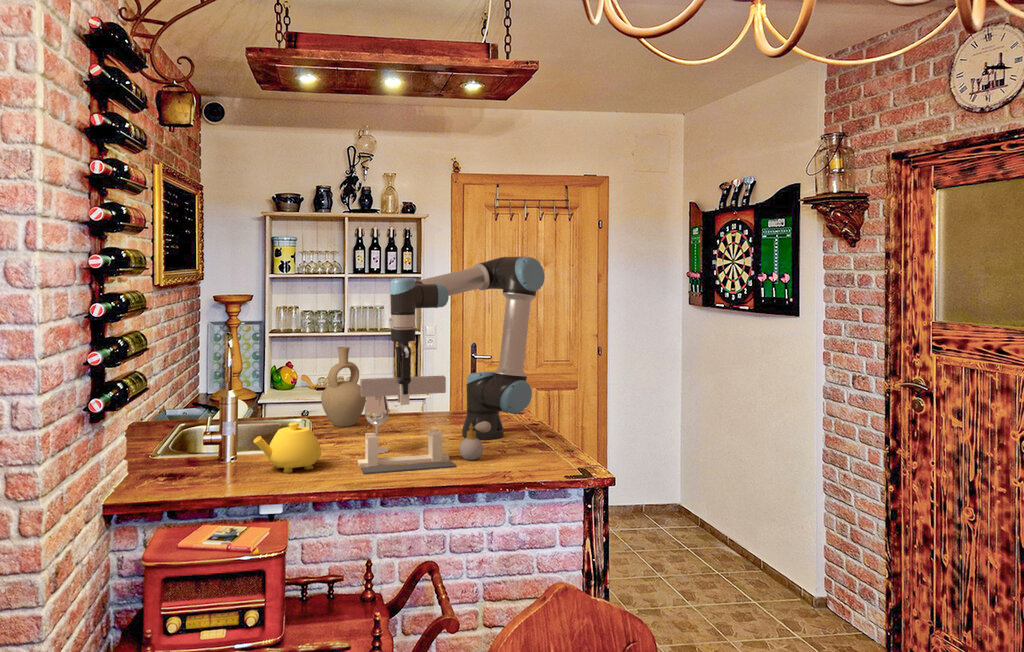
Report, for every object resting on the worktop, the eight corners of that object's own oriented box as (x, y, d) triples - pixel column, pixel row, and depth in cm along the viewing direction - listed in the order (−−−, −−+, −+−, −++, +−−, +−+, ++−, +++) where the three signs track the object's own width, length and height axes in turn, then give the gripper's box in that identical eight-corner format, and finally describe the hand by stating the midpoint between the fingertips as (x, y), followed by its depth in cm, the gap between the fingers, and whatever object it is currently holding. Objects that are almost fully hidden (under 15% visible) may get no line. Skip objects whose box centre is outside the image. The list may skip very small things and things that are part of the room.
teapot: (262, 479, 224) (261, 432, 223) (246, 468, 237) (245, 423, 236) (329, 469, 236) (328, 424, 235) (309, 459, 248) (309, 416, 247)
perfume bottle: (454, 458, 250) (454, 421, 249) (480, 454, 256) (480, 417, 255) (468, 463, 244) (468, 425, 243) (493, 458, 250) (493, 421, 249)
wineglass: (384, 454, 254) (383, 393, 253) (361, 453, 256) (360, 392, 254) (392, 449, 262) (392, 389, 260) (370, 447, 264) (369, 388, 262)
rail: (443, 391, 250) (443, 375, 249) (445, 392, 246) (445, 377, 246) (360, 395, 242) (360, 378, 241) (362, 396, 238) (361, 380, 238)
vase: (345, 419, 311) (344, 344, 309) (375, 424, 302) (374, 347, 299) (312, 426, 298) (311, 347, 296) (342, 432, 288) (341, 350, 286)
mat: (451, 462, 245) (451, 460, 245) (456, 467, 239) (456, 465, 239) (360, 469, 236) (360, 467, 236) (363, 474, 230) (363, 472, 230)
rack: (445, 456, 253) (445, 428, 252) (449, 460, 247) (449, 432, 246) (357, 462, 244) (357, 433, 244) (359, 467, 238) (359, 438, 238)
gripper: (386, 326, 249) (387, 399, 251) (395, 330, 233) (396, 408, 235) (410, 325, 251) (410, 398, 253) (420, 330, 236) (420, 407, 237)
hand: (403, 403), depth 244 cm, fingers closed on rail, 4 cm apart
